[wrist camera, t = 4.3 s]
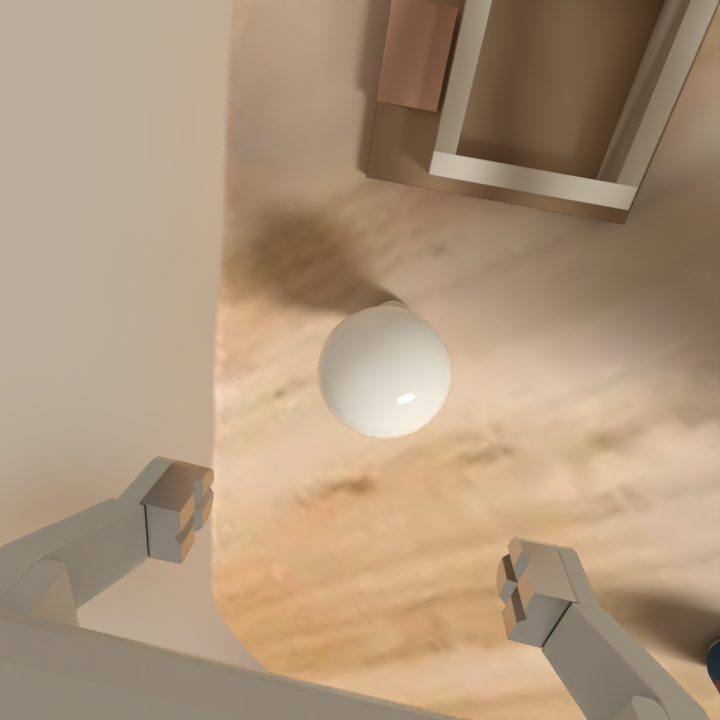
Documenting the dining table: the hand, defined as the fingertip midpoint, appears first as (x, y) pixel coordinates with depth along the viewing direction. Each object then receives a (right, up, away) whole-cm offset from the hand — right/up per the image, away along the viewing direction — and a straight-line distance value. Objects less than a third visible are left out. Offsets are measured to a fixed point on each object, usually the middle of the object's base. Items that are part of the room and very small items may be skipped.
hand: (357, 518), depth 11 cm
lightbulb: (+2, +7, +16) cm, 18 cm away
